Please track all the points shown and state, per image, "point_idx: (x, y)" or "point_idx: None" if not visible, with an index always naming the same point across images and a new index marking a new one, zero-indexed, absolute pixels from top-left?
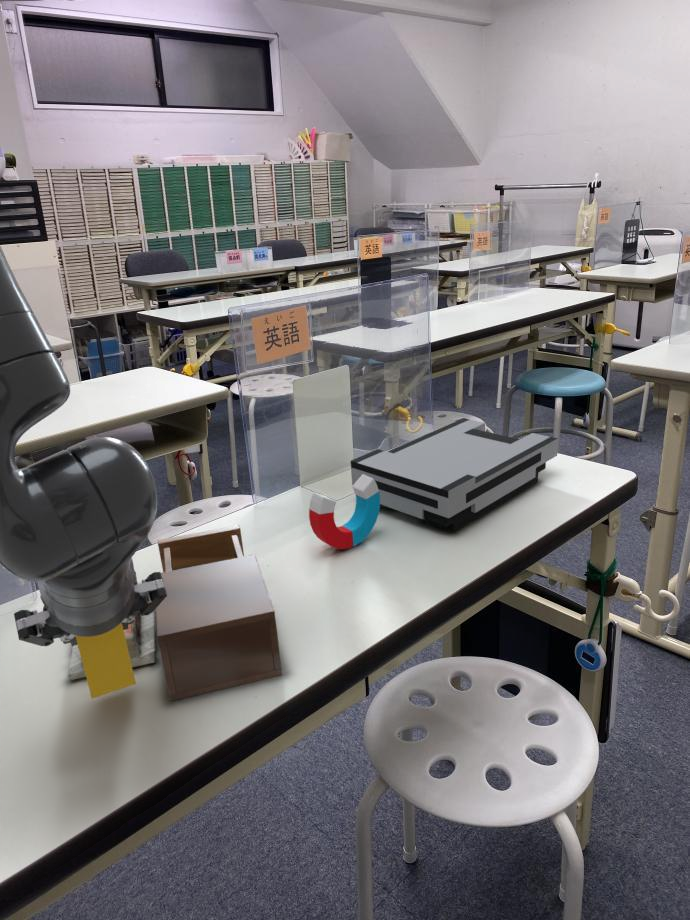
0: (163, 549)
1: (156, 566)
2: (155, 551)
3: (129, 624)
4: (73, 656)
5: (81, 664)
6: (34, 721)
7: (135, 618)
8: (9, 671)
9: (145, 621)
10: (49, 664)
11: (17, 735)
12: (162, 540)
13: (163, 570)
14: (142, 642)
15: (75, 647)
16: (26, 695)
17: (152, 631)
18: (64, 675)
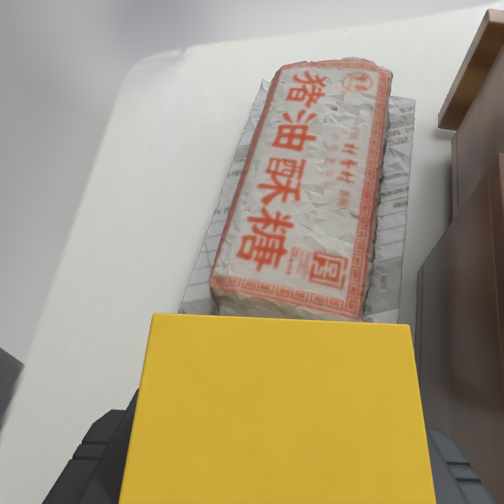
0: (491, 42)
1: (416, 59)
2: (418, 21)
3: (359, 276)
4: (201, 263)
5: (211, 304)
6: (64, 435)
7: (373, 242)
8: (78, 222)
9: (383, 229)
10: (154, 243)
11: (12, 468)
12: (502, 14)
13: (455, 94)
14: (367, 306)
15: (213, 233)
16: (80, 322)
17: (397, 277)
18: (172, 299)
